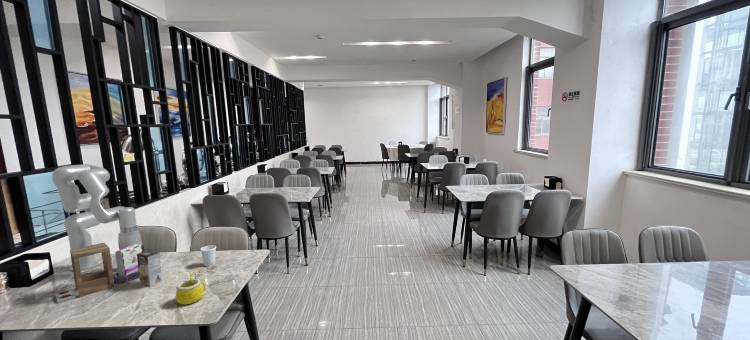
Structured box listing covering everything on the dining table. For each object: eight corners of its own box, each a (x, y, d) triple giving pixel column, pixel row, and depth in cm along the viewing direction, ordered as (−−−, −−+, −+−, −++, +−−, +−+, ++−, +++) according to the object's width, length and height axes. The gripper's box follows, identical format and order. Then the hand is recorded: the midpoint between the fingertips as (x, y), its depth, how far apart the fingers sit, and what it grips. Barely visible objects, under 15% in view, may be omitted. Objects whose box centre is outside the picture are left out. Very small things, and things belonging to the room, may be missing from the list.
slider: (109, 273, 178) (106, 252, 177) (144, 264, 190) (141, 244, 189) (117, 283, 166) (114, 261, 164) (154, 272, 178) (151, 251, 176)
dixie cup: (220, 263, 190) (219, 246, 188) (206, 268, 183) (205, 251, 182) (212, 260, 194) (211, 244, 193) (198, 265, 187) (197, 248, 186)
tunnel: (75, 289, 162) (69, 249, 159) (109, 280, 172) (104, 242, 169) (79, 297, 153) (73, 255, 151) (114, 287, 163) (109, 247, 161)
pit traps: (55, 295, 156) (54, 293, 156) (72, 290, 160) (71, 288, 160) (57, 303, 148) (57, 301, 148) (75, 298, 152) (75, 295, 152)
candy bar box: (137, 272, 180) (134, 243, 178) (145, 272, 179) (142, 244, 177) (118, 281, 169) (114, 251, 167) (126, 282, 168) (122, 252, 166)
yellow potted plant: (184, 308, 140) (182, 282, 139) (171, 302, 146) (169, 277, 145) (212, 295, 151) (210, 271, 149) (199, 290, 157) (197, 266, 155)
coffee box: (139, 283, 166) (135, 253, 164) (152, 278, 172) (149, 249, 170) (150, 286, 162) (146, 256, 160) (163, 281, 168) (159, 251, 166)
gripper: (142, 225, 190) (146, 255, 192) (110, 231, 179) (114, 263, 181) (146, 227, 185) (149, 258, 187) (113, 234, 174) (117, 266, 176)
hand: (132, 260), depth 184 cm, fingers closed
